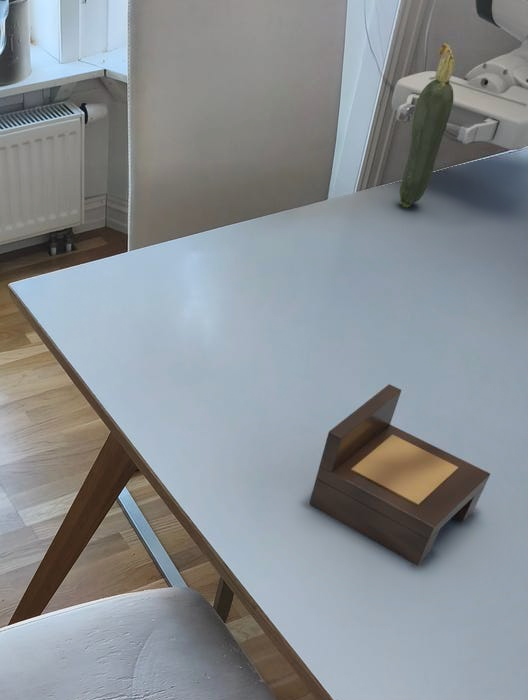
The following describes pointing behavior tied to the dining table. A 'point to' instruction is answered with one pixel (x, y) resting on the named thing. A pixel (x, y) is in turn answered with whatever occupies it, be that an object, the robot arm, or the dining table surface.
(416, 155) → the vegetable
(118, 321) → the dining table surface
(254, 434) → the dining table surface
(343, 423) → the wooden toy chair
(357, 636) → the dining table surface
